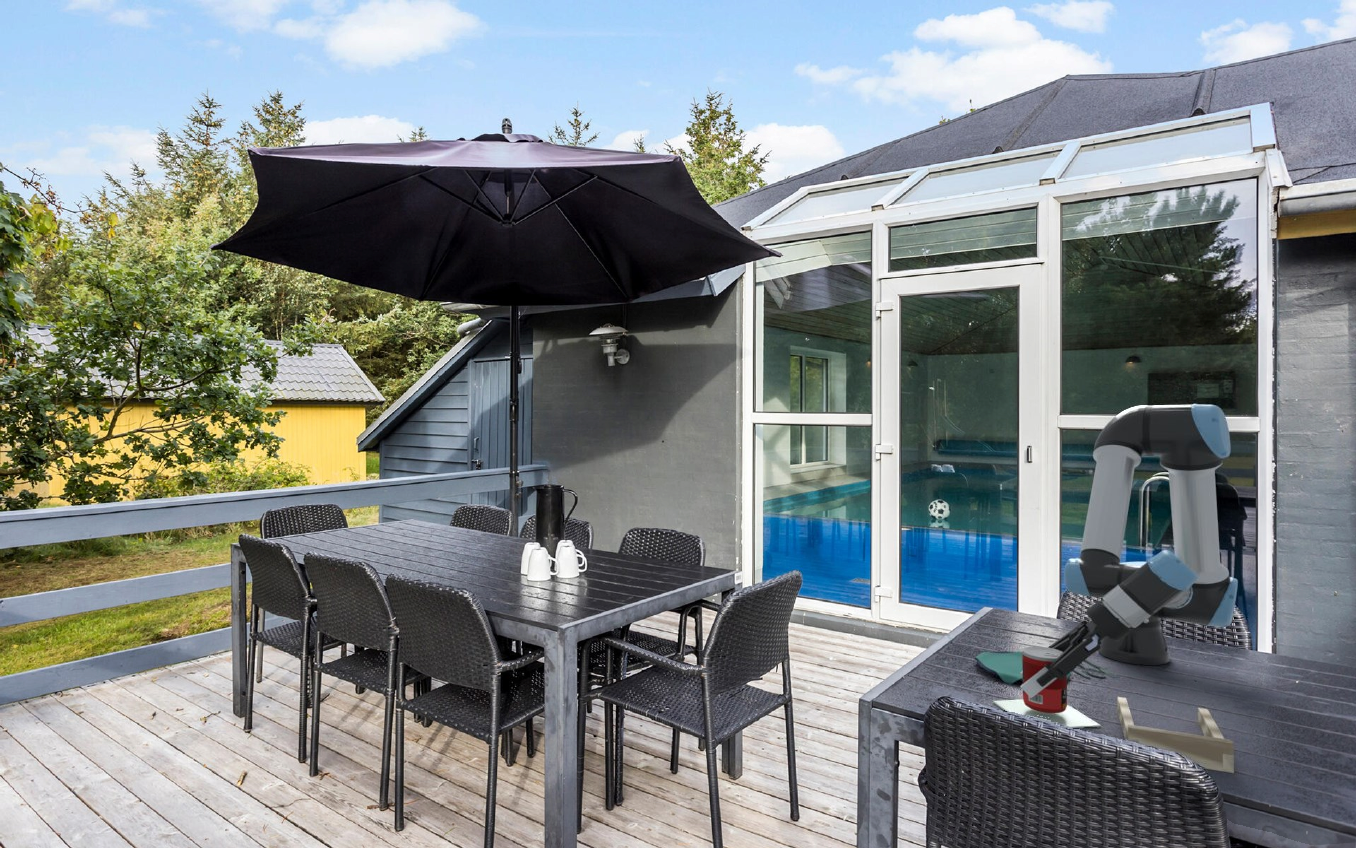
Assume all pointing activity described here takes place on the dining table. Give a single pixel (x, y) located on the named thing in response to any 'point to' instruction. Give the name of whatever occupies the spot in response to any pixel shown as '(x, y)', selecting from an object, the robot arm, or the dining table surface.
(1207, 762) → the shelf lane
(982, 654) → the cutlery set
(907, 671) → the dining table surface
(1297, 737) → the dining table surface
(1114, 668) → the dining table surface
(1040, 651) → the canned food
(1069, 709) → the pad
